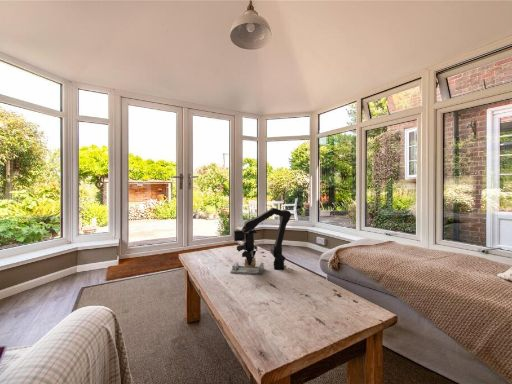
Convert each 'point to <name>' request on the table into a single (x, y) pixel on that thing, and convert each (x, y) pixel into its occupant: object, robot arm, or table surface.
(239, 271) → the base
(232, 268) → the block
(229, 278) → the table surface
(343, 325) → the table surface
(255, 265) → the block
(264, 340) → the table surface
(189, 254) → the table surface
